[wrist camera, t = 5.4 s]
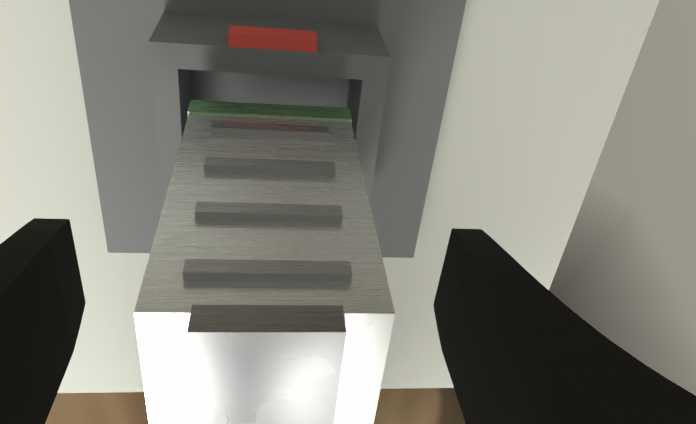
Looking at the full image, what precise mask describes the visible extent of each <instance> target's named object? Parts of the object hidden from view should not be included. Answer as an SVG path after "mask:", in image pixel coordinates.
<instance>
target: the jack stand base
mask: <svg viewBox="0 0 696 424" xmlns="http://www.w3.org/2000/svg"><path fill="white" fill-rule="evenodd" d="M658 3H659V0H0V244H1V243H2V242H4V241H5V240H6V239H7V238H9V237H10V236H11V235H12V234H14V233H15V232H16V231H18V230H19V229H20V228H21V227H23V226H24V225H25V224H27V223H28V222H30V221H31V220H32V219H34V218H43V219H70V224H71V229H72V235H73V240H74V245H75V250H76V255H77V260H78V266H79V271H80V276H81V281H82V286H83V292H84V297H85V302H86V304H85V308H84V312H83V316H82V321H81V325H80V329H79V333H78V337H77V340H76V344H75V348H74V352H73V354H72V357H71V359H70V362H69V365H68V367H67V370H66V372H65V375H64V377H63V380H62V382H61V385H60V387H59V390H58V392H57V393H99V392H144V385H143V378H142V370H141V363H140V355H139V348H138V341H137V333H136V326H135V318H134V310H135V306H136V303H137V299H138V295H139V292H140V288H141V285H142V281H143V277H144V274H145V270H146V266H147V263H148V259H149V256H150V252H151V248H152V245H153V241H154V237H155V234H156V230H157V227H158V223H159V219H160V216H161V212H162V209H163V205H164V201H165V198H166V194H167V190H168V187H169V183H170V180H171V176H172V172H173V169H174V165H175V161H176V158H177V154H178V151H179V147H180V143H181V140H182V136H183V133H184V129H185V125H186V122H187V118H188V112H187V111H188V108H189V104H190V101H191V100H204V101H223V102H243V103H262V104H281V105H301V106H320V107H339V108H349V109H350V113H351V117H352V124H351V125H352V129H353V133H354V138H355V142H356V146H357V151H358V155H359V159H360V164H361V168H362V172H363V177H364V181H365V185H366V190H367V194H368V198H369V202H370V207H371V211H372V215H373V220H374V224H375V228H376V233H377V237H378V241H379V246H380V250H381V254H382V259H383V263H384V267H385V272H386V276H387V280H388V284H389V289H390V293H391V297H392V302H393V306H394V310H395V318H394V323H393V328H392V333H391V338H390V343H389V348H388V353H387V358H386V363H385V368H384V373H383V378H382V383H381V388H380V389H395V388H454V386H453V383H452V380H451V377H450V374H449V371H448V368H447V365H446V362H445V359H444V356H443V352H442V349H441V344H440V339H439V334H438V329H437V324H436V318H435V312H434V306H433V304H434V300H435V296H436V292H437V288H438V283H439V279H440V275H441V271H442V267H443V263H444V259H445V255H446V251H447V246H448V242H449V238H450V234H451V230H452V228H454V229H482V230H483V231H484V232H485V233H487V234H488V235H489V236H490V237H491V238H492V239H493V240H494V241H496V242H497V243H498V244H499V245H500V246H501V247H502V248H503V249H504V250H505V251H506V252H507V253H508V254H509V255H511V256H512V257H513V258H514V259H515V260H516V261H517V262H518V263H519V264H520V265H521V266H522V267H523V268H524V269H525V270H527V271H528V272H529V273H530V274H531V275H532V276H533V277H534V278H535V279H536V280H537V281H539V282H540V283H541V284H542V285H543V286H544V287H545V288H546V289H548V290H549V289H550V286H551V283H552V281H553V278H554V275H555V273H556V270H557V268H558V265H559V262H560V260H561V257H562V254H563V252H564V249H565V246H566V244H567V241H568V239H569V236H570V233H571V231H572V228H573V225H574V223H575V220H576V218H577V215H578V212H579V209H580V207H581V204H582V202H583V199H584V196H585V194H586V191H587V189H588V186H589V184H590V181H591V178H592V176H593V173H594V170H595V168H596V165H597V162H598V160H599V157H600V155H601V152H602V150H603V147H604V144H605V142H606V139H607V136H608V134H609V131H610V128H611V126H612V123H613V121H614V118H615V115H616V113H617V110H618V107H619V105H620V102H621V99H622V97H623V94H624V92H625V89H626V87H627V84H628V81H629V78H630V76H631V73H632V71H633V68H634V66H635V63H636V60H637V58H638V55H639V52H640V49H641V47H642V45H643V42H644V39H645V36H646V34H647V31H648V29H649V26H650V24H651V21H652V18H653V15H654V13H655V10H656V8H657V5H658Z"/></svg>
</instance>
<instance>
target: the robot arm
mask: <svg viewBox="0 0 696 424" xmlns="http://www.w3.org/2000/svg"><path fill="white" fill-rule="evenodd" d="M85 304H86V302H85V297H84V292H83V286H82V281H81V276H80V271H79V266H78V260H77V255H76V250H75V245H74V240H73V235H72V229H71V224H70V219H43V218H34V219H32V220H31V221H30V222H28V223H27V224H25V225H24V226H23V227H21V228H20V229H19V230H18V231H16V232H15V233H14V234H12V235H11V236H10V237H9V238H7V239H6V240H5V241H4V242H2V243H1V244H0V424H45V422H46V419H47V417H48V414H49V412H50V409H51V407H52V405H53V402H54V400H55V397H56V395H57V392H58V390H59V387H60V385H61V382H62V380H63V377H64V375H65V372H66V370H67V367H68V365H69V362H70V359H71V357H72V354H73V352H74V348H75V344H76V340H77V337H78V333H79V329H80V325H81V321H82V316H83V312H84V308H85ZM433 306H434V312H435V318H436V324H437V329H438V334H439V339H440V344H441V349H442V352H443V356H444V359H445V362H446V365H447V368H448V371H449V374H450V377H451V380H452V383H453V386H454V389H455V392H456V395H457V398H458V401H459V404H460V407H461V410H462V413H463V416H464V419H465V422H466V424H696V396H695V395H693V394H692V393H690V392H688V391H687V390H685V389H683V388H681V387H680V386H678V385H676V384H675V383H673V382H672V381H670V380H668V379H666V378H665V377H663V376H662V375H660V374H659V373H657V372H656V371H654V370H652V369H651V368H649V367H647V366H646V365H645V364H643V363H642V362H640V361H639V360H637V359H636V358H635V357H633V356H632V355H630V354H629V353H627V352H626V351H624V350H623V349H622V348H620V347H619V346H617V345H616V344H614V343H613V342H612V341H610V340H609V339H608V338H606V337H605V336H603V335H602V334H601V333H600V332H598V331H597V330H596V329H594V328H593V327H592V326H591V325H589V324H588V323H587V322H586V321H584V320H583V319H582V318H581V317H579V316H578V315H577V314H576V313H574V312H573V311H572V310H571V309H570V308H568V307H567V306H566V305H565V304H564V303H562V302H561V301H560V300H559V299H558V298H557V297H555V296H554V295H553V294H552V293H551V292H550V291H549V290H548V289H546V288H545V287H544V286H543V285H542V284H541V283H540V282H539V281H537V280H536V279H535V278H534V277H533V276H532V275H531V274H530V273H529V272H528V271H527V270H525V269H524V268H523V267H522V266H521V265H520V264H519V263H518V262H517V261H516V260H515V259H514V258H513V257H512V256H511V255H509V254H508V253H507V252H506V251H505V250H504V249H503V248H502V247H501V246H500V245H499V244H498V243H497V242H496V241H494V240H493V239H492V238H491V237H490V236H489V235H488V234H487V233H485V232H484V231H483V230H482V229H454V228H452V230H451V234H450V238H449V242H448V246H447V251H446V255H445V259H444V263H443V267H442V271H441V275H440V279H439V283H438V288H437V292H436V296H435V300H434V304H433Z"/></svg>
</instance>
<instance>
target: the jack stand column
mask: <svg viewBox="0 0 696 424" xmlns="http://www.w3.org/2000/svg"><path fill="white" fill-rule="evenodd" d="M187 112H188V118H187V122H186V125H185V129H184V133H183V136H182V140H181V143H180V147H179V151H178V154H177V158H176V161H175V165H174V169H173V172H172V176H171V180H170V183H169V187H168V190H167V194H166V198H165V201H164V205H163V209H162V212H161V216H160V219H159V223H158V227H157V230H156V234H155V237H154V241H153V245H152V248H151V252H150V256H149V259H148V263H147V266H146V270H145V274H144V277H143V281H142V285H141V288H140V292H139V295H138V299H137V303H136V306H135V310H134V318H135V326H136V333H137V341H138V348H139V355H140V363H141V370H142V378H143V385H144V393H145V400H146V407H147V415H148V422H149V424H374V419H375V414H376V409H377V404H378V399H379V394H380V388H381V383H382V378H383V373H384V368H385V363H386V358H387V353H388V348H389V343H390V338H391V333H392V328H393V323H394V318H395V310H394V306H393V302H392V297H391V293H390V289H389V284H388V280H387V276H386V272H385V267H384V263H383V259H382V254H381V250H380V246H379V241H378V237H377V233H376V228H375V224H374V220H373V215H372V211H371V207H370V202H369V198H368V194H367V190H366V185H365V181H364V177H363V172H362V168H361V164H360V159H359V155H358V151H357V146H356V142H355V138H354V133H353V129H352V125H351V124H352V117H351V113H350V109H349V108H339V107H320V106H301V105H281V104H262V103H243V102H223V101H204V100H191V101H190V104H189V108H188V111H187Z"/></svg>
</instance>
